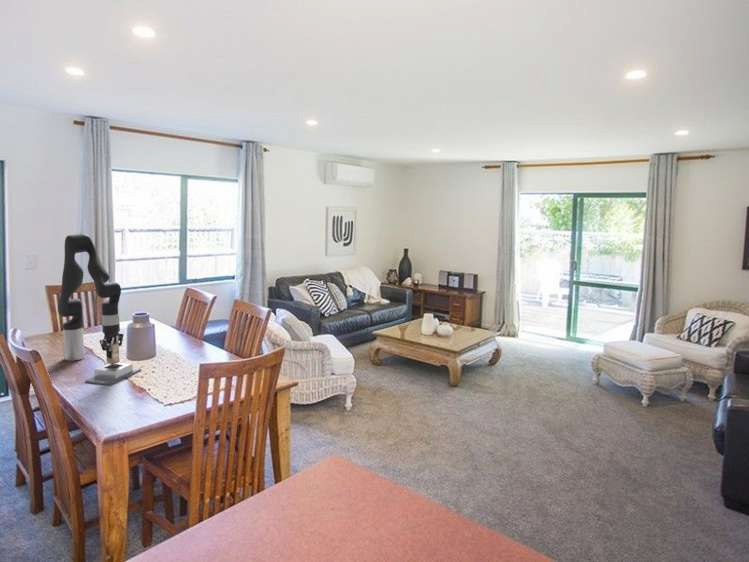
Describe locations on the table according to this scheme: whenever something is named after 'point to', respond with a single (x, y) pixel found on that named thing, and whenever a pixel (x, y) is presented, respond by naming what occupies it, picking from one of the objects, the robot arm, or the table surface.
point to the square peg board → (112, 373)
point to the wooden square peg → (114, 354)
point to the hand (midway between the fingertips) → (112, 356)
